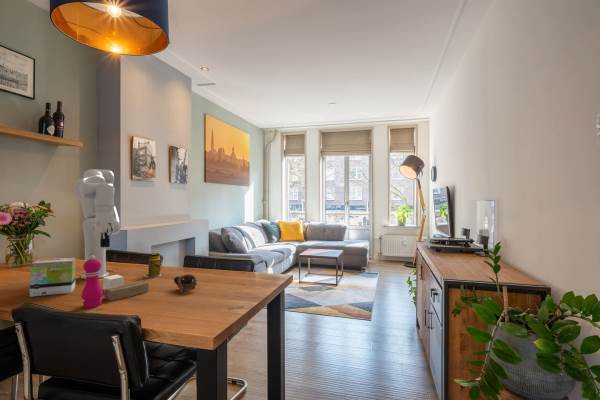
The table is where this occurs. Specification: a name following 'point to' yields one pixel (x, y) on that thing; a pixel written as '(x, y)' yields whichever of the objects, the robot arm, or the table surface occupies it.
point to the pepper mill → (92, 284)
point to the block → (112, 281)
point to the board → (125, 290)
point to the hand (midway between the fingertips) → (105, 246)
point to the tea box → (52, 276)
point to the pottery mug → (185, 282)
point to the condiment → (154, 265)
